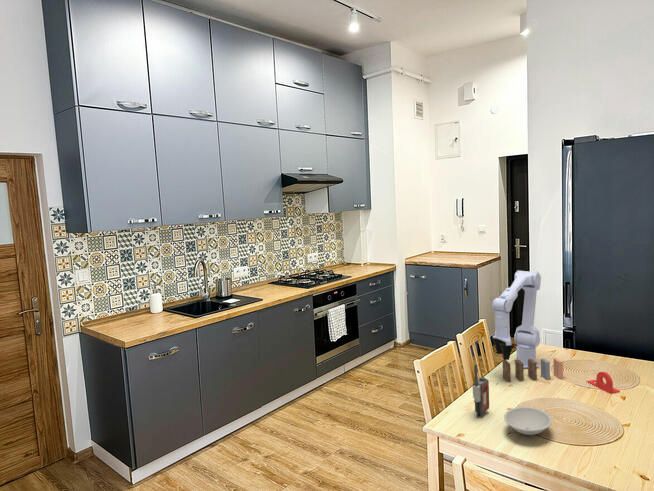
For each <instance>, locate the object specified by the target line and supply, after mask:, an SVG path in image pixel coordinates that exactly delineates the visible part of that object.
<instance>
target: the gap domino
mask: <svg viewBox="0 0 654 491" xmlns="http://www.w3.org/2000/svg"><path fill="white" fill-rule="evenodd" d="M550 365H551V363H550V361H549V360H547V359H546V358H544V357H543V358H540V376H541V377H542V378H543V379H544V380H545V381H550V380H551V366H550Z"/></svg>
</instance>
